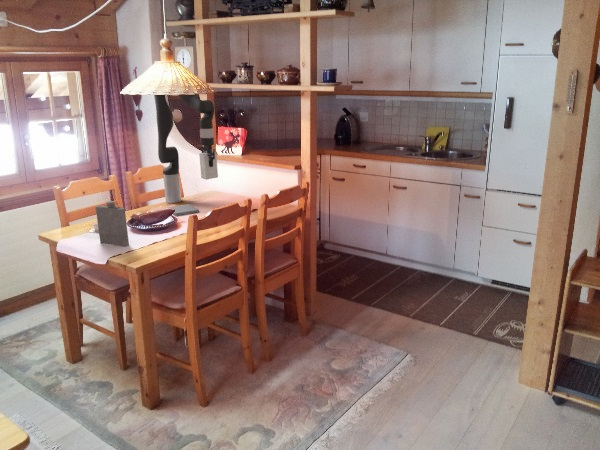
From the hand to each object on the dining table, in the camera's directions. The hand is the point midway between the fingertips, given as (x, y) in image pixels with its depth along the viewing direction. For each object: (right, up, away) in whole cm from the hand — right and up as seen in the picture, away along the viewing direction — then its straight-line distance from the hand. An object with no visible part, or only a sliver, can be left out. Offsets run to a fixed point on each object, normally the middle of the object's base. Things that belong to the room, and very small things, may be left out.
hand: (208, 165), depth 303 cm
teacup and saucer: (-49, -38, -38) cm, 73 cm away
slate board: (-15, -26, -2) cm, 30 cm away
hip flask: (-34, -43, -57) cm, 79 cm away
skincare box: (0, -7, +2) cm, 7 cm away
